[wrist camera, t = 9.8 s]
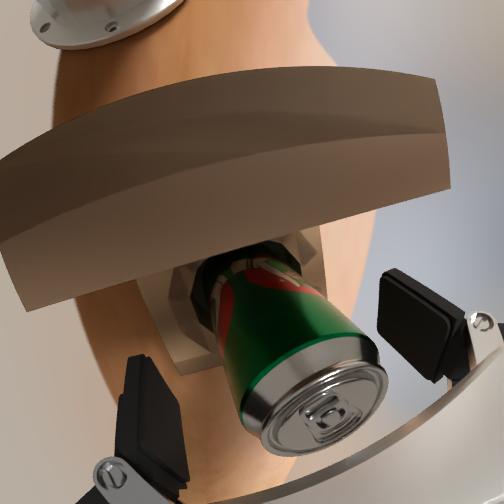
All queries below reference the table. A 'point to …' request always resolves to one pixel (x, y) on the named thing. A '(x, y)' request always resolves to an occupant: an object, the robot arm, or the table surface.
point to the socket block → (212, 185)
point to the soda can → (289, 354)
